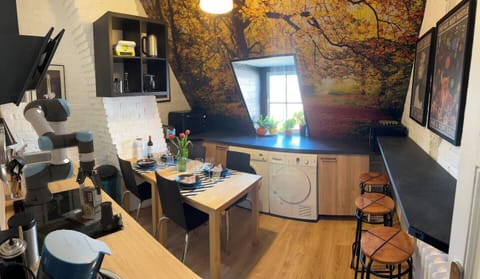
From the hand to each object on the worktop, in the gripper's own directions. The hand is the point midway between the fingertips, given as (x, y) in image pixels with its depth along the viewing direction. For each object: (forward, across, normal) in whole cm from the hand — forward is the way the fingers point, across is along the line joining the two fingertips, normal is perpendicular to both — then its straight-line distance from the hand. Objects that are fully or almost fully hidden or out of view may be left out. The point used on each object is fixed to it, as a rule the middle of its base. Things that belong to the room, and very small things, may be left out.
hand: (90, 197), depth 162 cm
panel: (+12, -5, -2) cm, 13 cm away
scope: (+12, +20, -3) cm, 23 cm away
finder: (+11, -7, -5) cm, 14 cm away
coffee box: (+11, +1, 0) cm, 11 cm away
